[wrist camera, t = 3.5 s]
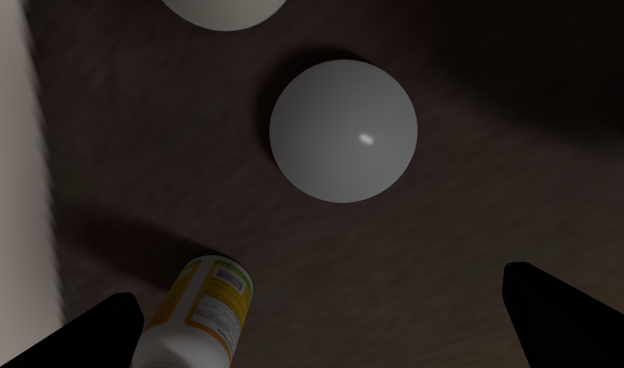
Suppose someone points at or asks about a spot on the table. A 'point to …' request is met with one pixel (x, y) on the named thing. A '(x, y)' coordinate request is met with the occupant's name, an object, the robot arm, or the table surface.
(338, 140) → the dish
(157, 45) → the table surface
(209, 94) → the table surface
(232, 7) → the dish
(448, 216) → the table surface
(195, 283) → the supplement bottle
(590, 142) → the table surface
